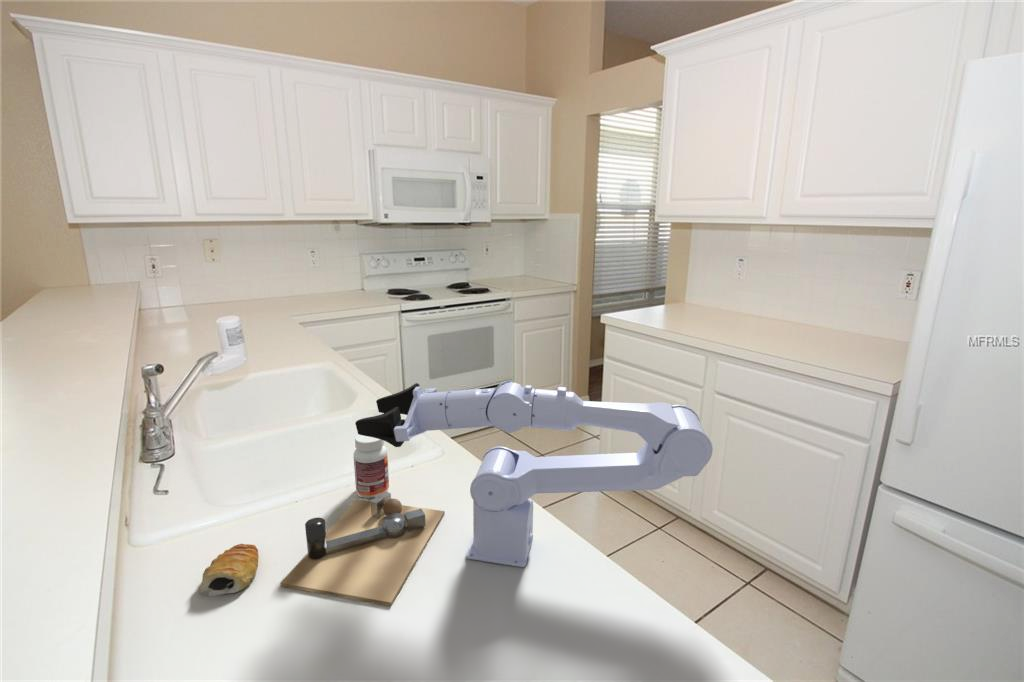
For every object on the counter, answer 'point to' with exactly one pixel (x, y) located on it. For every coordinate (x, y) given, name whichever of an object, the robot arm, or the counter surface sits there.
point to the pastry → (230, 571)
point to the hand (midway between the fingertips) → (368, 416)
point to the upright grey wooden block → (379, 504)
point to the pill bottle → (370, 466)
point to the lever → (359, 533)
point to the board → (365, 558)
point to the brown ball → (392, 506)
